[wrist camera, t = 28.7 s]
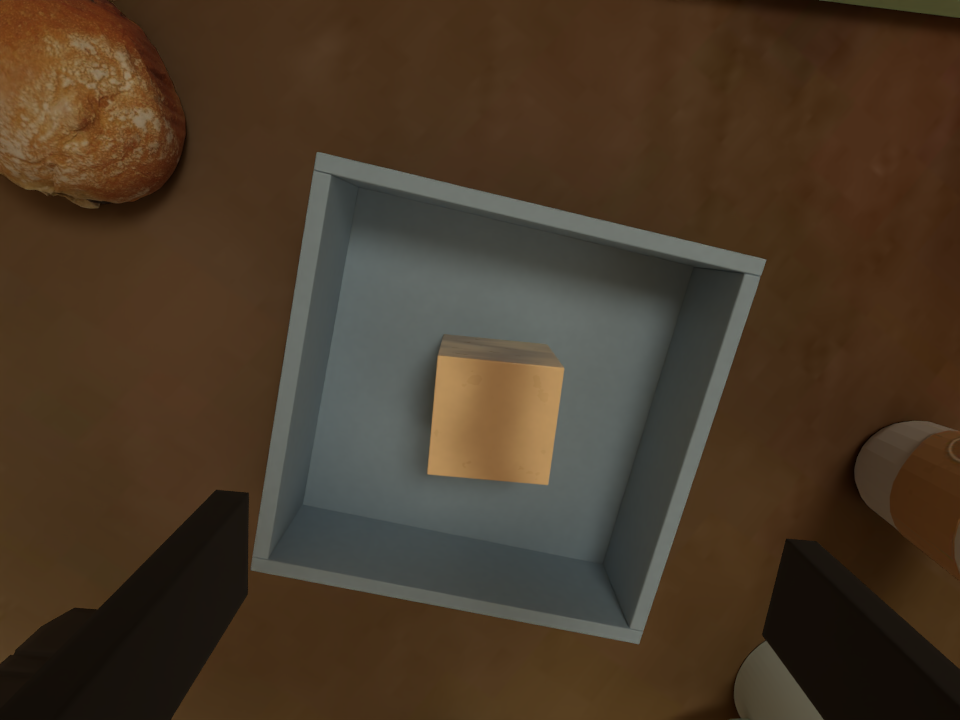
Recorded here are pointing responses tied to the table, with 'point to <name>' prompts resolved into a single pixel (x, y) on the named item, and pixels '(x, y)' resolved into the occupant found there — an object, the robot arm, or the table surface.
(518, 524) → the bin
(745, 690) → the mug
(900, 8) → the frame
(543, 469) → the block
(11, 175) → the bread roll
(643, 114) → the table surface
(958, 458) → the coffee cup
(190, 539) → the robot arm
